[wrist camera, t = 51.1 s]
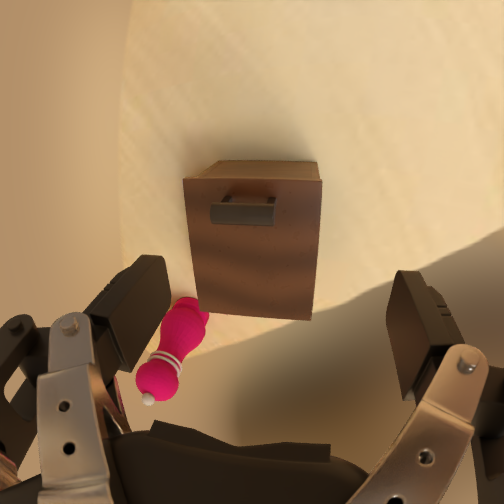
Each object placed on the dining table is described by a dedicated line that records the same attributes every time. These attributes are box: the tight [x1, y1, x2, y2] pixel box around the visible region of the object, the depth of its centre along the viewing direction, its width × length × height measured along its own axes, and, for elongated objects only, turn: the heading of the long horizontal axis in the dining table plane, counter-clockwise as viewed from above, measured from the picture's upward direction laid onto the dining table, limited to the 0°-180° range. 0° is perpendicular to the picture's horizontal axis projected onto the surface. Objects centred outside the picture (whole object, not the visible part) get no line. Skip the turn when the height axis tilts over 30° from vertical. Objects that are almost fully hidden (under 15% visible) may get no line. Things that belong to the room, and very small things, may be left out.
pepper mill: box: [136, 297, 209, 406], centre depth 43 cm, size 7×7×20 cm
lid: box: [183, 177, 322, 321], centre depth 29 cm, size 15×13×5 cm
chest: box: [197, 160, 320, 179], centre depth 36 cm, size 15×13×12 cm
